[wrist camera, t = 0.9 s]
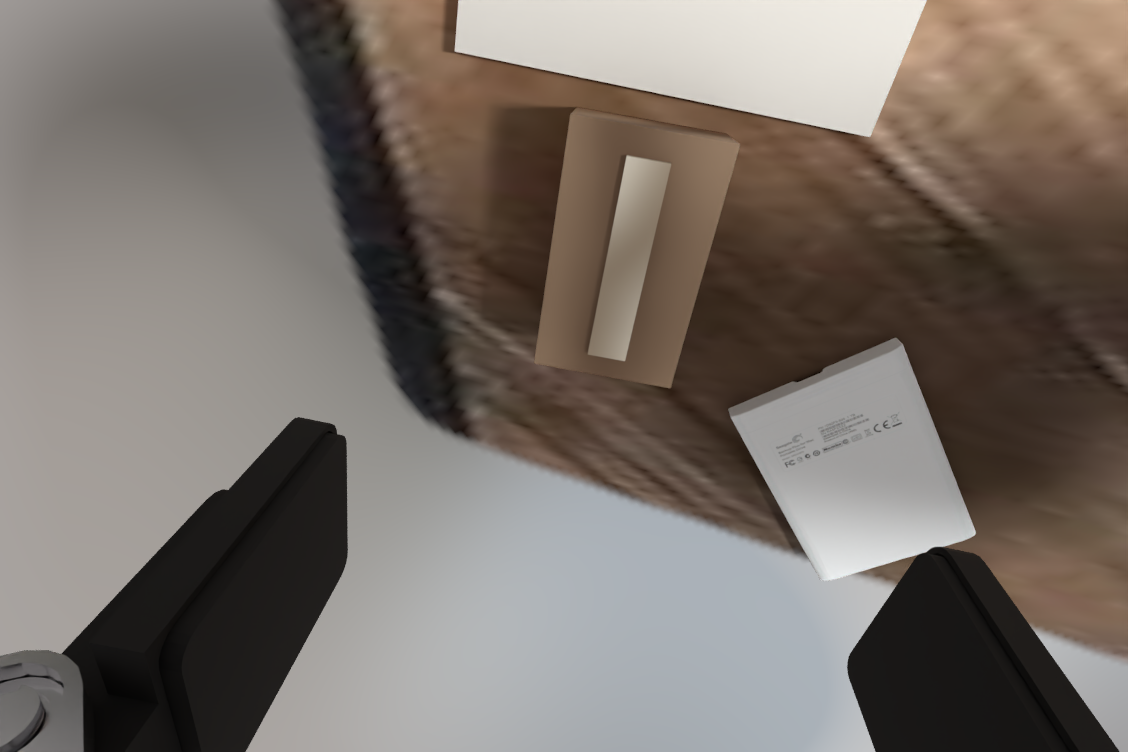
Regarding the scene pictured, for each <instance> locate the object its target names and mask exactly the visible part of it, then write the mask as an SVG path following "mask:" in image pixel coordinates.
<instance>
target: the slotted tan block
mask: <svg viewBox="0 0 1128 752" xmlns="http://www.w3.org/2000/svg"><path fill="white" fill-rule="evenodd" d="M739 148H740V144H739V143H738V142H737V141H736V140H734V139H733V138H732V137H730V136H729V135H728V134H725V133H720V132H714V131H708V130H703V129H697V128H692V127H686V126H680V125H675V124H669V123H664V122H658V121H652V120H647V119H641V118H636V117H630V116H624V115H619V114H613V113H608V112H602V111H597V110H591V109H585V108H580V107H577V108H576V109H575V110H574V111H573V112H572V113H571V114H570V120H569V127H568V134H567V141H566V147H565V154H564V161H563V168H562V175H561V182H560V188H559V195H558V202H557V209H556V216H555V223H554V229H553V236H552V243H551V250H550V257H549V264H548V270H547V277H546V284H545V291H544V298H543V305H542V312H541V318H540V325H539V332H538V339H537V346H536V353H535V359H534V364H539V365H545V366H550V367H556V368H561V369H567V370H572V371H578V372H583V373H589V374H594V375H600V376H605V377H610V378H616V379H621V380H627V381H632V382H638V383H643V384H649V385H654V386H660V387H665V388H671V385H672V381H673V378H674V374H675V371H676V367H677V364H678V360H679V357H680V353H681V350H682V346H683V343H684V339H685V336H686V332H687V329H688V325H689V322H690V318H691V315H692V311H693V308H694V304H695V301H696V298H697V294H698V291H699V287H700V284H701V280H702V277H703V273H704V270H705V266H706V263H707V259H708V256H709V252H710V249H711V245H712V242H713V238H714V235H715V231H716V228H717V224H718V221H719V217H720V214H721V210H722V207H723V203H724V200H725V196H726V193H727V189H728V186H729V183H730V179H731V176H732V172H733V169H734V165H735V162H736V158H737V155H738V151H739Z"/></svg>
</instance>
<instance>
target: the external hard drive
mask: <svg viewBox="0 0 1128 752" xmlns="http://www.w3.org/2000/svg"><path fill="white" fill-rule="evenodd" d="M728 411H729V414H730V417H731V419H732V421H733V423H734V425H735V426H736V428H737V430H738V432H739V433H740V435H741V437H742V439H743V441H744V443H745V445H746V446H747V448H748V450H749V452H750V454H751V455H752V457H753V459H754V461H755V463H756V465H757V467H758V468H759V470H760V472H761V474H762V475H763V477H764V479H765V481H766V483H767V485H768V486H769V488H770V490H771V492H772V494H773V495H774V497H775V499H776V501H777V503H778V504H779V506H780V508H781V510H782V512H783V514H784V515H785V517H786V519H787V521H788V523H789V524H790V526H791V528H792V530H793V532H794V533H795V535H796V537H797V539H798V541H799V542H800V544H801V546H802V548H803V550H804V551H805V553H806V555H807V557H808V558H809V560H810V562H811V564H812V566H813V568H814V569H815V571H816V573H817V574H818V576H819V578H820V579H821V580H823V581H829V580H834V579H837V578H841V577H844V576H847V575H851V574H854V573H857V572H861V571H864V570H867V569H871V568H874V567H877V566H880V565H884V564H887V563H891V562H894V561H897V560H900V559H904V558H907V557H911V556H914V555H918V554H921V553H924V552H927V551H928V550H929V549H931V548H933V547H944V546H948V545H951V544H954V543H957V542H961V541H964V540H966V539H969V538H971V537H973V536H974V535H975V534H976V531H975V529H974V526H973V524H972V521H971V518H970V516H969V513H968V511H967V508H966V505H965V503H964V500H963V498H962V495H961V493H960V490H959V487H958V485H957V482H956V480H955V477H954V475H953V472H952V469H951V467H950V464H949V462H948V459H947V457H946V454H945V452H944V449H943V446H942V444H941V441H940V439H939V436H938V433H937V431H936V428H935V426H934V423H933V421H932V418H931V415H930V413H929V410H928V408H927V405H926V402H925V400H924V397H923V395H922V392H921V390H920V387H919V385H918V382H917V379H916V377H915V374H914V372H913V369H912V367H911V364H910V362H909V359H908V356H907V354H906V351H905V349H904V346H903V344H902V343H901V342H900V341H899V340H898V339H897V338H893V339H891V340H889V341H886V342H884V343H882V344H879V345H877V346H875V347H872V348H870V349H868V350H865V351H863V352H861V353H858V354H856V355H853V356H851V357H849V358H846V359H844V360H842V361H839V362H837V363H835V364H832V365H830V366H828V367H825V368H824V369H823V370H822V372H821V373H819V374H816V375H814V376H812V377H809V378H807V379H804V380H802V381H800V382H794V381H793V382H790V383H787V384H785V385H783V386H780V387H778V388H776V389H773V390H771V391H769V392H766V393H764V394H761V395H759V396H757V397H754V398H752V399H750V400H747V401H745V402H743V403H740V404H738V405H735V406H733V407H731V408H729V409H728Z"/></svg>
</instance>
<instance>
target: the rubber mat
mask: <svg viewBox="0 0 1128 752" xmlns="http://www.w3.org/2000/svg"><path fill="white" fill-rule="evenodd" d="M926 1H927V0H458V13H457V27H456V41H455V52H460V53H465V54H470V55H474V56H479V57H484V58H489V59H494V60H499V61H503V62H508V63H513V64H518V65H523V66H528V67H532V68H537V69H542V70H547V71H552V72H557V73H562V74H566V75H571V76H576V77H581V78H586V79H591V80H595V81H600V82H605V83H610V84H615V85H620V86H625V87H629V88H634V89H639V90H644V91H649V92H654V93H658V94H663V95H668V96H673V97H678V98H683V99H687V100H692V101H697V102H702V103H707V104H712V105H717V106H721V107H726V108H731V109H736V110H741V111H746V112H750V113H755V114H760V115H765V116H770V117H775V118H780V119H784V120H789V121H794V122H799V123H804V124H809V125H813V126H818V127H823V128H828V129H833V130H838V131H843V132H847V133H852V134H857V135H862V136H867V137H870V136H871V134H872V131H873V129H874V126H875V124H876V122H877V119H878V117H879V114H880V112H881V110H882V107H883V105H884V102H885V100H886V97H887V95H888V93H889V90H890V88H891V85H892V83H893V81H894V78H895V76H896V73H897V71H898V68H899V66H900V64H901V61H902V59H903V56H904V54H905V52H906V49H907V47H908V44H909V42H910V39H911V37H912V35H913V32H914V30H915V27H916V25H917V23H918V20H919V18H920V15H921V13H922V10H923V8H924V6H925V3H926Z"/></svg>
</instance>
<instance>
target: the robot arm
mask: <svg viewBox="0 0 1128 752" xmlns="http://www.w3.org/2000/svg"><path fill="white" fill-rule="evenodd" d="M346 454H347V450H346V438H345V437H344V436H342V435H337V430H336V428H335V426H334V425H333V424H330V423H324V422H320V421H314V420H310V419H304V418H300V417H298V418H295V419H293V420H292V421H291V422H290V423H289V424H288V425H287V426H286V428H285V429H284V430H283V431H282V432H281V433H280V434H279V435H278V437H276V438H275V440H274V441H273V442H272V443H271V444H270V445H269V446H268V447H267V448H266V449H265V450H264V452H263V453H262V454H261V455H260V456H259V457H258V458H257V459H256V460H255V461H254V463H253V464H252V465H251V466H250V467H249V468H248V469H247V470H246V471H245V472H244V473H243V475H242V476H241V477H240V478H239V479H238V480H237V481H236V482H235V483H234V485H233V486H232V487H231V488H230V489H229V490H220V491H218V492H216V493H214V494H213V495H212V496H211V497H209V498H208V499H207V500H206V501H205V502H204V503H203V504H202V505H201V506H200V507H199V508H198V509H197V511H195V513H194V514H193V515H192V516H191V517H190V518H189V519H188V520H187V521H186V522H185V523H184V525H182V526H181V528H180V529H179V530H178V531H177V532H176V533H175V534H174V535H173V536H172V537H171V538H170V539H169V540H168V541H167V542H166V543H165V545H164V546H163V547H162V548H161V549H160V550H159V551H158V552H157V553H156V554H155V555H154V556H153V557H152V558H151V559H150V560H149V561H148V563H146V565H145V566H144V567H143V568H142V569H141V570H140V571H139V572H138V573H137V574H136V575H135V576H134V577H133V578H132V579H131V580H130V582H129V583H128V584H127V585H126V586H125V587H124V588H123V589H122V590H121V591H120V592H119V593H118V594H117V595H116V596H115V598H114V599H113V600H112V601H111V602H110V603H109V604H108V605H107V606H106V607H105V608H104V609H103V610H102V611H101V612H100V613H99V614H98V616H97V617H96V618H95V619H94V620H93V621H92V622H91V623H90V624H89V625H88V626H87V627H86V628H85V629H84V630H83V631H82V633H81V634H80V635H79V636H78V637H77V638H76V639H75V640H74V641H73V642H72V643H71V644H70V645H69V646H68V647H67V648H66V650H65V651H64V652H63V653H62V654H59V653H56V652H52V651H49V650H29V651H28V650H26V651H25V650H24V651H19V652H16V653H11V654H6V655H2V656H0V752H245V751H246V750H247V748H248V746H249V744H250V742H251V740H252V739H253V737H254V735H255V733H256V731H257V729H258V728H259V726H260V724H261V722H262V720H263V718H264V717H265V715H266V713H267V711H268V709H269V708H270V706H271V704H272V702H273V700H274V698H275V696H276V695H277V693H278V691H279V689H280V687H281V686H282V684H283V682H284V680H285V678H286V676H287V675H288V673H289V671H290V669H291V667H292V665H293V664H294V662H295V660H296V658H297V656H298V654H299V653H300V651H301V649H302V647H303V645H304V643H305V642H306V640H307V638H308V636H309V634H310V632H311V631H312V629H313V627H314V625H315V623H316V621H317V620H318V618H319V616H320V614H321V612H322V610H323V608H324V607H325V605H326V603H327V601H328V599H329V598H330V596H331V594H332V592H333V590H334V588H335V586H336V585H337V583H338V581H339V579H340V577H341V575H342V573H343V570H344V568H345V564H346V560H347V553H348V552H347V551H348V548H347V547H348V545H347V544H348V543H347V458H346V457H347V455H346ZM847 668H848V675H849V679H850V682H851V684H852V687H853V690H854V693H855V696H856V699H857V701H858V704H859V707H860V710H861V712H862V715H863V718H864V720H865V723H866V726H867V729H868V732H869V735H870V737H871V740H872V743H873V746H874V748H875V751H876V752H1119V750H1118V749H1117V748H1116V746H1115V745H1114V743H1113V742H1112V740H1111V739H1110V738H1109V736H1108V735H1107V733H1106V732H1105V731H1104V729H1103V728H1102V726H1101V725H1100V723H1099V722H1098V721H1097V719H1096V718H1095V716H1094V715H1093V714H1092V712H1091V711H1090V709H1089V708H1088V707H1087V705H1086V704H1085V703H1084V701H1083V700H1082V698H1081V697H1080V696H1079V694H1078V693H1077V691H1076V690H1075V688H1074V687H1073V686H1072V684H1071V683H1070V682H1069V680H1068V679H1067V677H1066V676H1065V674H1064V673H1063V672H1062V670H1061V669H1060V667H1059V666H1058V665H1057V663H1056V662H1055V660H1054V659H1053V658H1052V656H1051V655H1050V653H1049V652H1048V651H1047V649H1046V648H1045V646H1044V645H1043V643H1042V642H1041V641H1040V639H1039V638H1038V636H1037V635H1036V634H1035V632H1034V631H1033V629H1032V628H1031V627H1030V625H1029V624H1028V622H1027V621H1026V620H1025V618H1024V617H1023V615H1022V614H1021V613H1020V611H1019V610H1018V608H1017V607H1016V606H1015V604H1014V603H1013V601H1012V600H1011V599H1010V597H1009V596H1008V594H1007V593H1006V591H1005V590H1004V589H1003V587H1002V586H1001V584H1000V583H999V582H998V580H997V579H996V577H995V576H994V575H993V573H992V572H991V570H990V569H989V568H988V566H987V565H986V563H985V562H984V561H983V560H982V559H981V558H980V557H979V556H977V555H975V554H973V553H969V552H964V551H959V550H954V549H949V548H944V547H933V548H931V549H929V550H928V551H927V552H926V553H922V554H919V555H918V556H917V557H916V558H915V560H914V561H913V563H912V564H911V565H910V567H909V568H908V570H907V571H906V573H905V574H904V576H903V577H902V579H901V580H900V582H899V583H898V585H897V586H896V587H895V589H894V590H893V592H892V593H891V595H890V596H889V598H888V599H887V601H886V602H885V604H884V605H883V606H882V608H881V610H880V611H879V612H878V614H877V615H876V617H875V618H874V620H873V621H872V623H871V624H870V626H869V627H868V629H867V630H866V631H865V633H864V634H863V636H862V637H861V639H860V640H859V642H858V643H857V644H856V646H855V648H854V649H853V650H852V652H851V653H850V656H849V659H848V667H847Z"/></svg>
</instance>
